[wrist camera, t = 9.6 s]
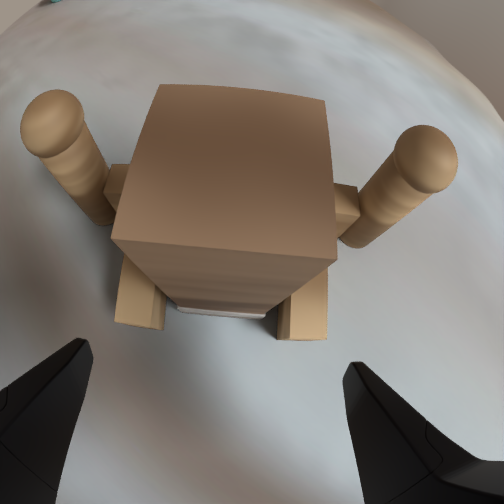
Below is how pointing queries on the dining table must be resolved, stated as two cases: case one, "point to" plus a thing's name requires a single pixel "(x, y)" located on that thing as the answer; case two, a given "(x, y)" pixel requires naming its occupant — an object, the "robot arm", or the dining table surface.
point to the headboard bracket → (346, 197)
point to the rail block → (229, 198)
